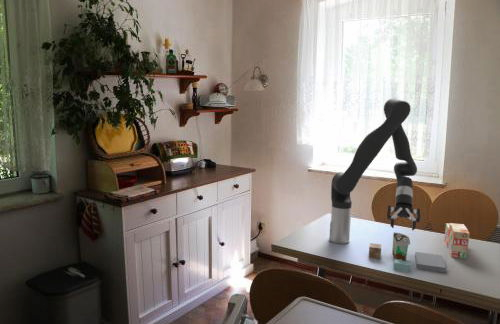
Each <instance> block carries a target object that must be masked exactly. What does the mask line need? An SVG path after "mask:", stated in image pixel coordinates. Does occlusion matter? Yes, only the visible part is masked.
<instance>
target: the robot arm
mask: <svg viewBox="0 0 500 324" xmlns="http://www.w3.org/2000/svg"><path fill="white" fill-rule="evenodd" d="M383 105H384V106H383V112H384V116H385V118H386V119H385V120H384V122H383V123H382V124H381V125H379V126H378V127H376V128H375V129H373V130H372V131H371V132H369V133H368V134H367V135H365V137H364V138H363V140H362V141H361V142H360V144H359V145H358V147H357V148H356V151H355V153H354V155H353V159H352V161H351V163H350V165H349V166H348V167H347V168H346V170H345V171H344V172H342V171H341V172H337V173H336V174H334V175H333V176H332V179H331V187H330V188H331V192H330V200H331V213H330V214H331V215H330V223H329V237H328V239H329V240H328V241H329V242H331V243H332V242H333V243H335V244H341V245H343V244H344V245H345V244H348V243H349V242H350V236H351V235H350V234H351V233H350V232H351V219H352V204H353V203H352V199H351V193H352V192H354V189H355V187H356V186H357V184H358V183H359V181H360V179H361V178H362V176H363V174H364V173H365V172H366V170H367V169H368V168H369V166H370V165H371V164H372V162H373V160H375V159H376V157H377V156H378V155H379V153H380V152H381V150H382V149H383V148H384V146H385V144H386V143H388V141H389V139H390V138H391V139H392V143H393V149H394V155H395V158H396V160H399V161H401V162H395V164H394V166H393V172H394V174H395V178H396V191H395V204H394V206H391V205H388V206H387V207H388V208H387V213H386V219H387V220H389V221H390V225H389V226H390V228H392V229H394V226H395V220H396V219H397V218H398V217H399V218H406V219H407V218H408V219H409V220H410V221H411V222H412V223H411V225H412V226H411V231H414V230H416V227H417V225H416V224H417V223H420V222H421V209H420V208H416V209H414V208H413V205H414V204H413V200H414V199H413V198H414V195H413V194H414V193H413V179H412V178H410V177H412V176H415V175H416V174H417V173H418V167H417V165H416V163H415V160H414V158H413V156H412V152H411V147H410V142H409V138H408V136H407V134H406V132H405V129H404V128H403V123H404V121H406V119H407V118H408V117H409V115H410V113H411V108H412V107H411V105H410V103H409V102H407V101H406V100H402V99H398V98H389V99H387V100H386V102H385V103H384V104H383ZM393 211H394V213H393V215H392V214H391V213H392V212H393ZM413 213H414V214H415V215H416V217H415V215H414V214H413Z"/></svg>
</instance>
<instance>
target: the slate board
mask: <svg viewBox="0 0 500 324" xmlns="http://www.w3.org/2000/svg"><path fill="white" fill-rule="evenodd" d="M414 258H415V259H414V260H415V263H416V264H415V265H416V269H419V270H427V271H433V272H440V273H446V272H447V265H446V263H445V259H444V256H443V254H437V253H435V254H434V253H430V252H429V253H427V252H422V251H421V252H420V251H415V253H414Z"/></svg>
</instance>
